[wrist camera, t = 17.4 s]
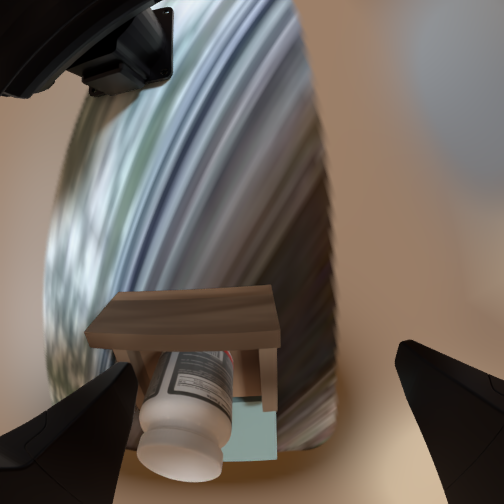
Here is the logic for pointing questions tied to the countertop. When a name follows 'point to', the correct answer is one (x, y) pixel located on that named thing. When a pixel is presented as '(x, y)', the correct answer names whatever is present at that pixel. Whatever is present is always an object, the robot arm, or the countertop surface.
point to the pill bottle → (187, 415)
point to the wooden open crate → (195, 333)
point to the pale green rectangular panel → (251, 431)
